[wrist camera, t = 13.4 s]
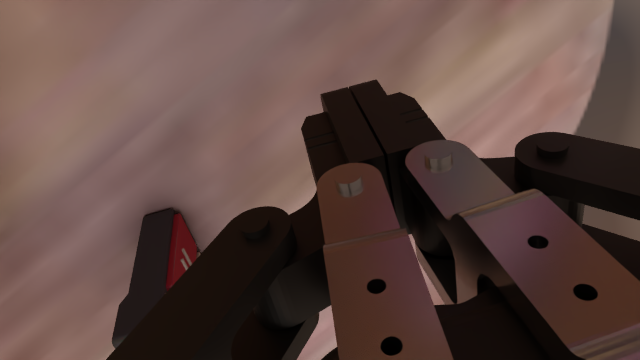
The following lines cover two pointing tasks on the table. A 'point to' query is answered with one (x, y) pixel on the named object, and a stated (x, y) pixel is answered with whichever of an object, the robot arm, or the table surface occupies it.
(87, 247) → the table surface
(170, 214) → the grey and red box
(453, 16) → the table surface
